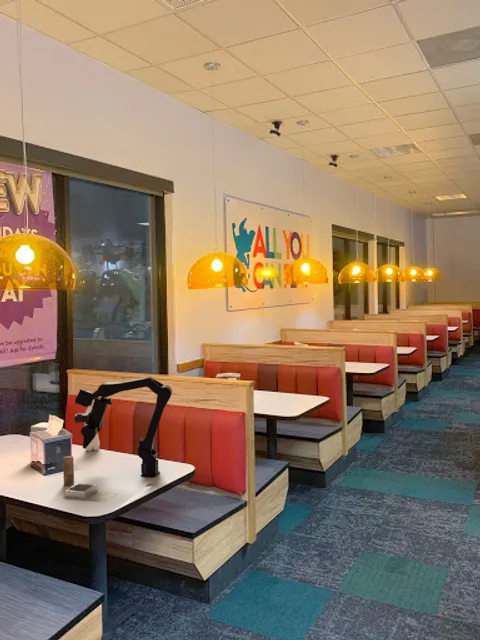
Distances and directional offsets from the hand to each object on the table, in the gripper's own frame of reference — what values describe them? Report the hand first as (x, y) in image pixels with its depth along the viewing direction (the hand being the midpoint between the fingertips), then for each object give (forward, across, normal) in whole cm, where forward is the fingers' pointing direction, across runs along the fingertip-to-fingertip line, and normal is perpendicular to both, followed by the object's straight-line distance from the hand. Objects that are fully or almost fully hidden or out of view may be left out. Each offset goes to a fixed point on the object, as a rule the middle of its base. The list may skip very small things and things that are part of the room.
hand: (86, 445), depth 241 cm
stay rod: (+14, +13, 0) cm, 19 cm away
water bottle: (+15, -42, -1) cm, 44 cm away
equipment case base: (+10, +27, +11) cm, 31 cm away
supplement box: (+21, -27, -19) cm, 39 cm away
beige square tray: (+10, +25, +7) cm, 28 cm away
